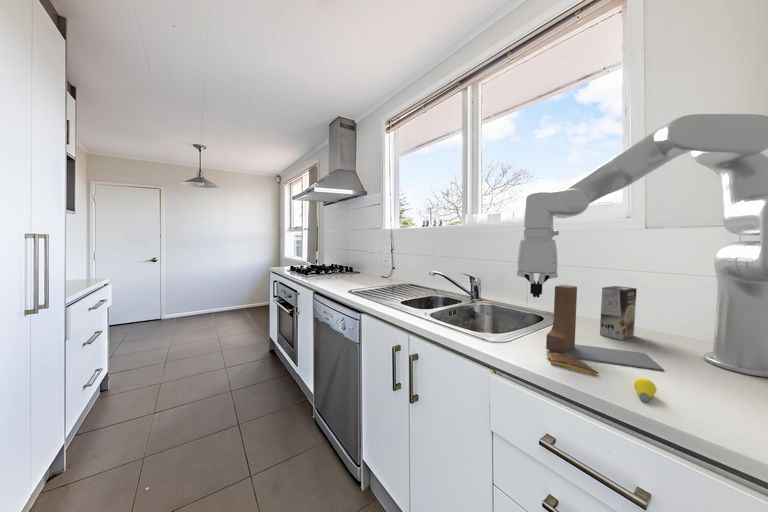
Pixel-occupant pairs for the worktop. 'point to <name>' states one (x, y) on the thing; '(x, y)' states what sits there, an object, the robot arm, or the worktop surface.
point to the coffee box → (618, 312)
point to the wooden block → (563, 320)
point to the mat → (613, 356)
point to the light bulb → (645, 388)
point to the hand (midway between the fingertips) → (535, 296)
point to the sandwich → (570, 363)
